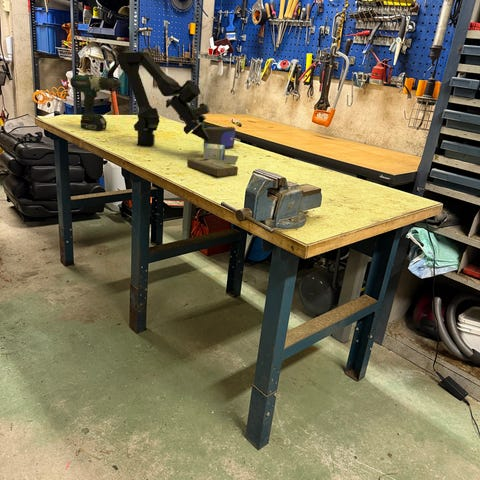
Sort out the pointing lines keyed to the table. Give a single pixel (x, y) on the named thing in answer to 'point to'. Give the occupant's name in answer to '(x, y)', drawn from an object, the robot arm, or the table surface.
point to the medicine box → (214, 151)
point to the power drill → (92, 98)
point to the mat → (228, 159)
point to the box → (212, 166)
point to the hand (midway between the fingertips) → (208, 140)
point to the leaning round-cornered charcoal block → (221, 136)
